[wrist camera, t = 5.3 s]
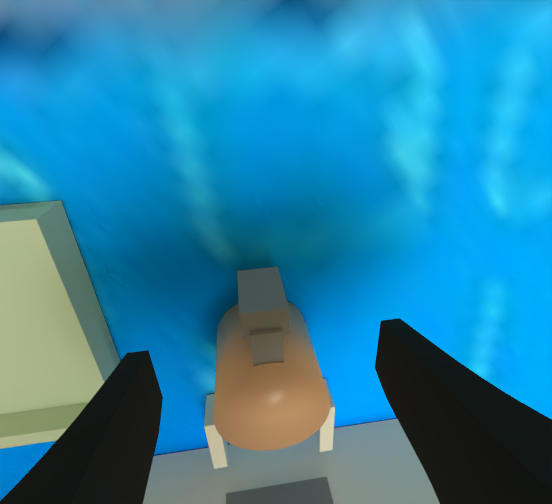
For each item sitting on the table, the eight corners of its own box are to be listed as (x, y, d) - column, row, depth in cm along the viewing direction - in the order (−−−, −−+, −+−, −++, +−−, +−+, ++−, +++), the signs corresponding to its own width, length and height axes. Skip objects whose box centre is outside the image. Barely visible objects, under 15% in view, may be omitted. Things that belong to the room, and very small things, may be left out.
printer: (140, 476, 22) (113, 599, 17) (111, 408, 19) (67, 534, 14) (396, 435, 24) (443, 536, 19) (410, 366, 21) (472, 465, 16)
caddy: (222, 370, 19) (221, 458, 15) (203, 259, 16) (194, 332, 11) (305, 358, 19) (328, 441, 15) (305, 249, 16) (334, 315, 12)
